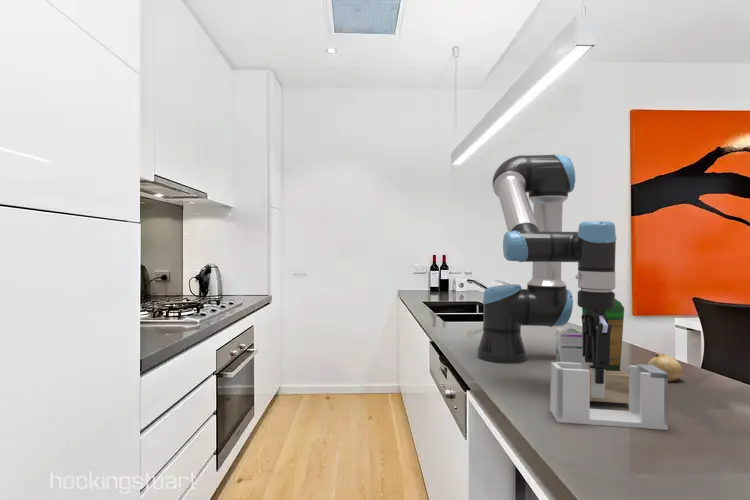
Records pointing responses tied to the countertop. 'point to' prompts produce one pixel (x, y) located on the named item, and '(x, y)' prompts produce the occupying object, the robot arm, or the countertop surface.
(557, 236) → the robot arm
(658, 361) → the tan round lump
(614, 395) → the tan wooden block
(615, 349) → the bottle
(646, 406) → the white open holder
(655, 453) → the countertop surface
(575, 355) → the syrup box
